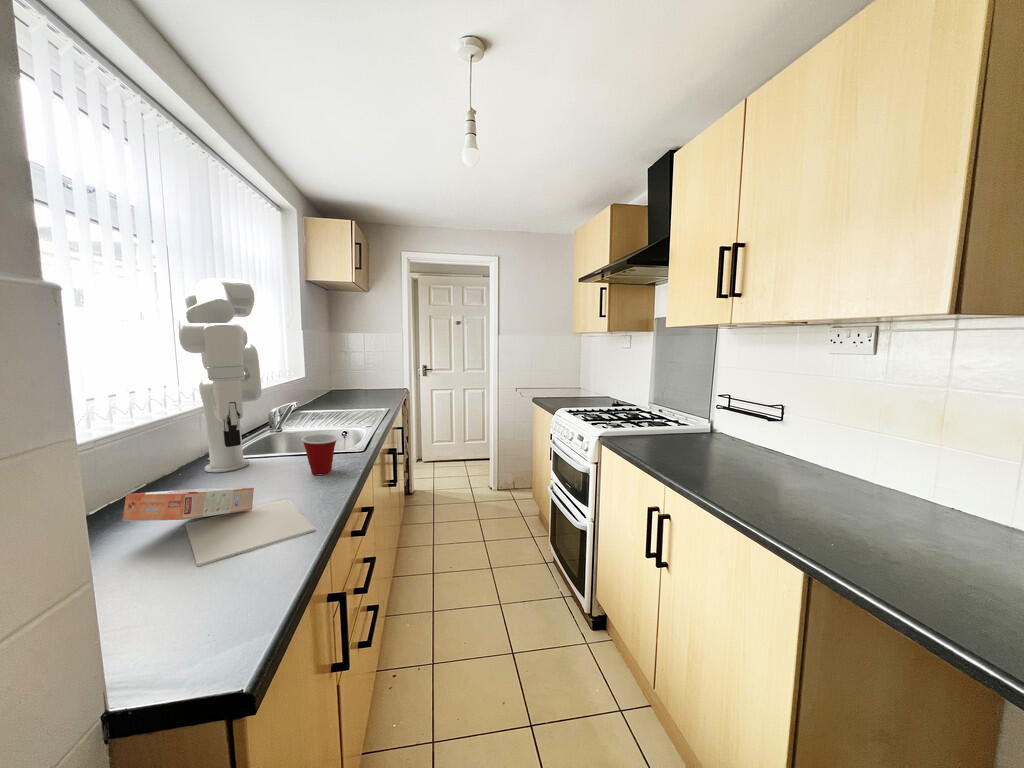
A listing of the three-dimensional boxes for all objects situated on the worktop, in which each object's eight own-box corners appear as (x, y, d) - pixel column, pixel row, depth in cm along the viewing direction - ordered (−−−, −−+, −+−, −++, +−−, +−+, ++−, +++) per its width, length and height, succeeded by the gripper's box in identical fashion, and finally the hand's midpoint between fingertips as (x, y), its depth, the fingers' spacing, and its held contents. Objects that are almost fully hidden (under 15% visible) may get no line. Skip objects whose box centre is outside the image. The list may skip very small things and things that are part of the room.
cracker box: (255, 486, 108) (184, 492, 87) (252, 510, 107) (180, 522, 86) (205, 487, 109) (124, 493, 89) (202, 510, 108) (119, 522, 88)
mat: (185, 525, 99) (185, 524, 99) (287, 500, 114) (287, 498, 114) (197, 566, 82) (197, 564, 82) (315, 530, 96) (315, 528, 96)
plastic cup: (330, 478, 132) (328, 441, 130) (297, 478, 132) (294, 441, 131) (345, 467, 142) (343, 433, 141) (314, 467, 143) (312, 433, 141)
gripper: (203, 372, 107) (210, 443, 109) (212, 376, 96) (219, 454, 98) (238, 371, 112) (244, 438, 114) (250, 374, 101) (256, 448, 103)
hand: (232, 445), depth 106 cm, fingers closed
